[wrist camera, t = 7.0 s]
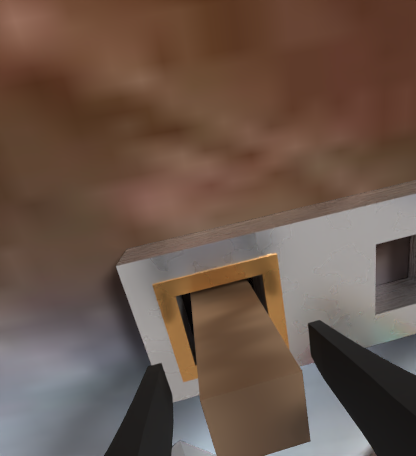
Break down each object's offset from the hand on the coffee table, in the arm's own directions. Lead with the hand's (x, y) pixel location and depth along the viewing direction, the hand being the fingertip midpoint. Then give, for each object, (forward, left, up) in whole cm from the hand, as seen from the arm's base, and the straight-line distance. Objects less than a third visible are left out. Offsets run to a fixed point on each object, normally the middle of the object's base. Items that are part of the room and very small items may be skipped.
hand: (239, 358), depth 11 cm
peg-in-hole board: (-6, 0, -5) cm, 8 cm away
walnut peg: (0, 0, -5) cm, 5 cm away
